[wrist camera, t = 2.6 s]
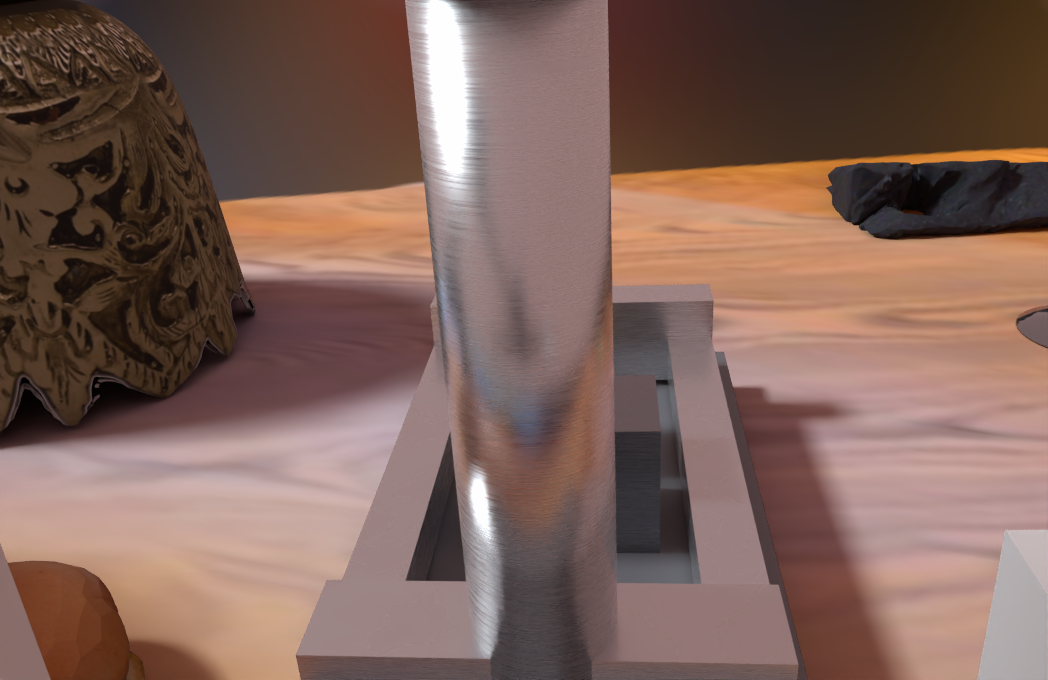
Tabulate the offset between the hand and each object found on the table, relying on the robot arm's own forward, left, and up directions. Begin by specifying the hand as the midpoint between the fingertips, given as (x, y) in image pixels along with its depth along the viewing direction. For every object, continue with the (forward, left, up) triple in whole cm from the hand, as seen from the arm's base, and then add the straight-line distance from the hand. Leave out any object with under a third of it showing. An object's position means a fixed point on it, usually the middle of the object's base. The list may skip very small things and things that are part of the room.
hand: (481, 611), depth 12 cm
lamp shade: (-32, +39, -15) cm, 52 cm away
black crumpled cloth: (+30, +62, -15) cm, 71 cm away
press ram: (0, +19, -12) cm, 23 cm away
